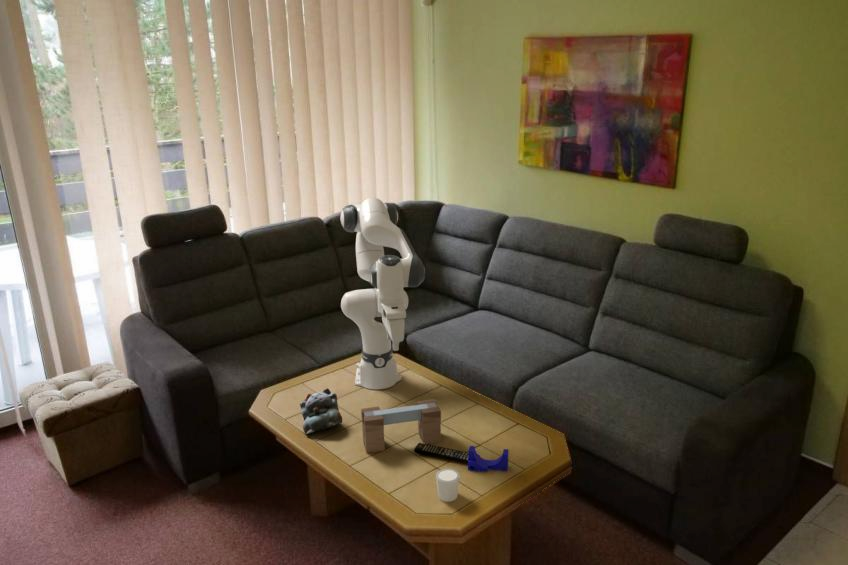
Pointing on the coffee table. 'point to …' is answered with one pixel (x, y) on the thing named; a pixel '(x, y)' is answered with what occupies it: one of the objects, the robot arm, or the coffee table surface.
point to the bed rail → (401, 413)
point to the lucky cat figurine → (320, 411)
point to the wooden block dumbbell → (426, 427)
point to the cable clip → (487, 461)
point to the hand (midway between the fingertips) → (392, 344)
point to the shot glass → (447, 484)
